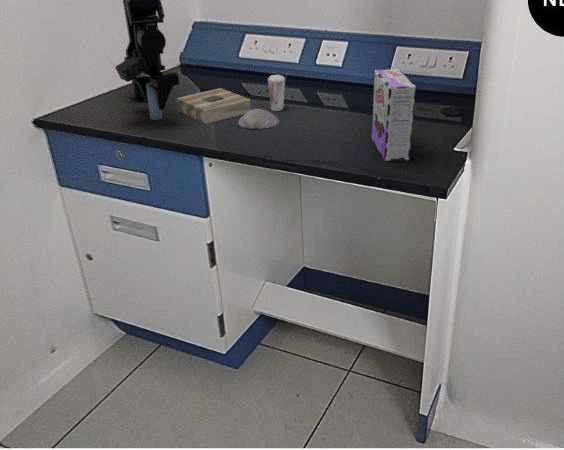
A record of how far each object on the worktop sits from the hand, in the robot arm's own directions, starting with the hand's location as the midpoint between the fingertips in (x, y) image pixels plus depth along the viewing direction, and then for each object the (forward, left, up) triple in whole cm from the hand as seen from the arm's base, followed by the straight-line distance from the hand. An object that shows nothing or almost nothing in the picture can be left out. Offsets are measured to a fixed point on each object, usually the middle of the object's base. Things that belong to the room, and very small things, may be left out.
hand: (155, 106), depth 162 cm
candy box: (+55, +29, -3) cm, 62 cm away
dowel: (0, 0, -3) cm, 3 cm away
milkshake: (+16, +28, -3) cm, 32 cm away
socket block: (+6, +14, -3) cm, 16 cm away
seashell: (+21, +17, -4) cm, 28 cm away
